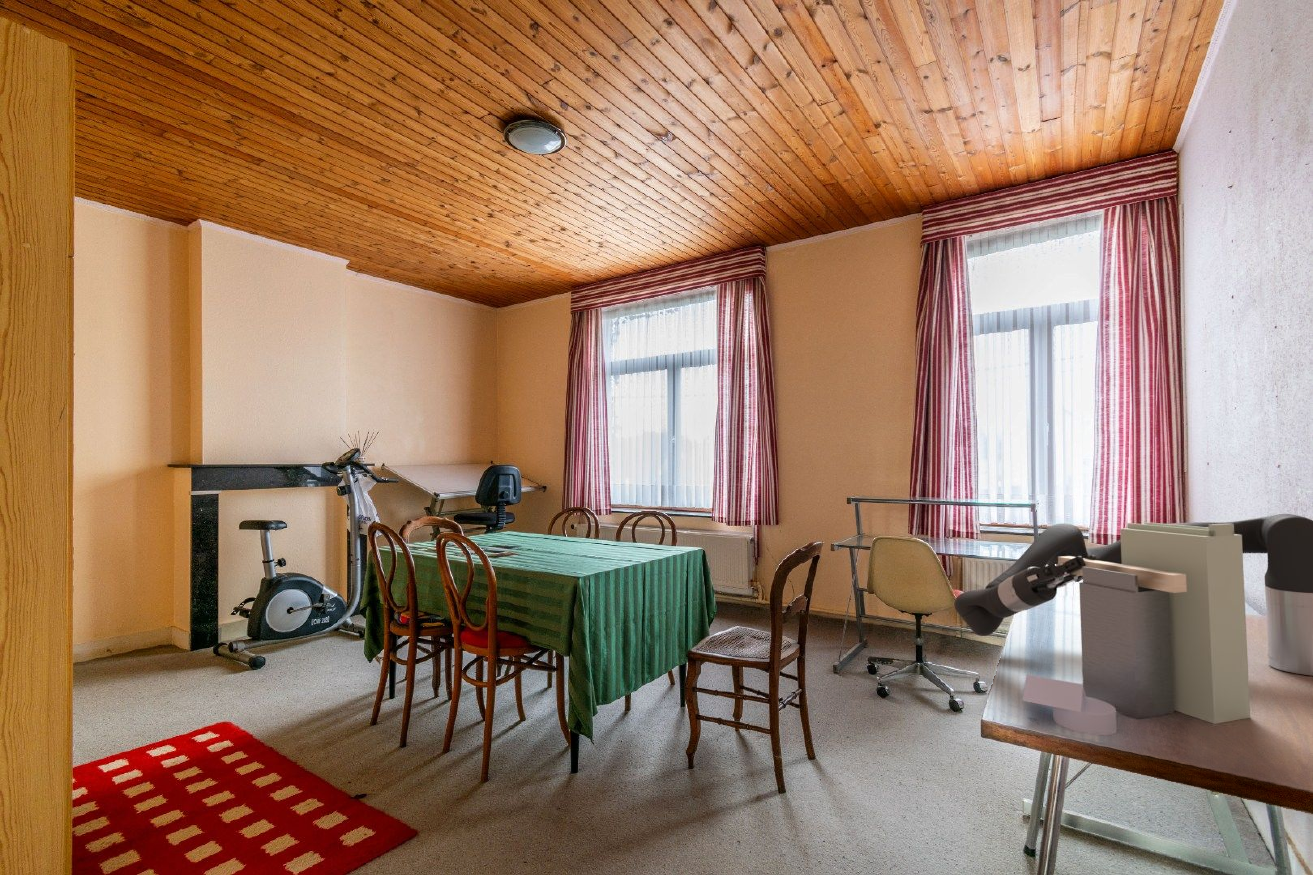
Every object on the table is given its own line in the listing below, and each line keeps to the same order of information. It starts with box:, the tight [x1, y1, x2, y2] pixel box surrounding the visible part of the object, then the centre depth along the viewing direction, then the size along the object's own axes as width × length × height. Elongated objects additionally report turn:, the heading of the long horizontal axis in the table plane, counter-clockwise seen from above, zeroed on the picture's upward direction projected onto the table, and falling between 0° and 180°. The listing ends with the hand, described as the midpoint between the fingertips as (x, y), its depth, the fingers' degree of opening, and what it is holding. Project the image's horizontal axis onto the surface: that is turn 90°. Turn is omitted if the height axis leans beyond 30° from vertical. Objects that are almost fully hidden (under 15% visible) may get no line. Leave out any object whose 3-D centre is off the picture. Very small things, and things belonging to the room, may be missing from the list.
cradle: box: [1078, 567, 1175, 720], centre depth 117 cm, size 10×9×25 cm
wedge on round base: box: [1022, 674, 1118, 736], centre depth 110 cm, size 9×7×13 cm
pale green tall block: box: [1119, 521, 1251, 725], centre depth 117 cm, size 15×9×34 cm, turn 17°
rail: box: [1058, 556, 1187, 593], centre depth 118 cm, size 22×3×3 cm, turn 17°
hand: (1089, 560), depth 123 cm, fingers closed on rail, 3 cm apart
